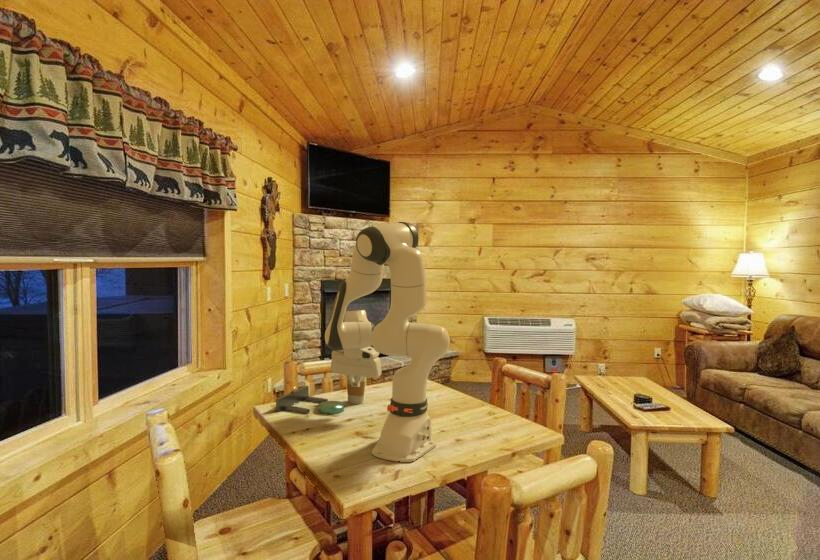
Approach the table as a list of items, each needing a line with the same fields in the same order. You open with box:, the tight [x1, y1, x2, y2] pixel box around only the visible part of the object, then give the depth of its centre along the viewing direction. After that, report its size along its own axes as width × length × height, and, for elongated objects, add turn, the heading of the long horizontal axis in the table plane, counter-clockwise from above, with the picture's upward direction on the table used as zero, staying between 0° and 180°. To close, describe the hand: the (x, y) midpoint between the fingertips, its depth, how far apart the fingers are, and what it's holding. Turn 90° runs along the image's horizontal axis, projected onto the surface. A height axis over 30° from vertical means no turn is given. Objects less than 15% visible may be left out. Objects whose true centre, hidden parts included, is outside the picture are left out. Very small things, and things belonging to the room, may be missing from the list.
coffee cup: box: [346, 375, 366, 405], centre depth 188 cm, size 8×8×15 cm
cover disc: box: [317, 400, 345, 416], centre depth 178 cm, size 10×10×2 cm
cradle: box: [275, 385, 329, 415], centre depth 182 cm, size 20×13×7 cm, turn 159°
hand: (355, 386), depth 174 cm, fingers closed
